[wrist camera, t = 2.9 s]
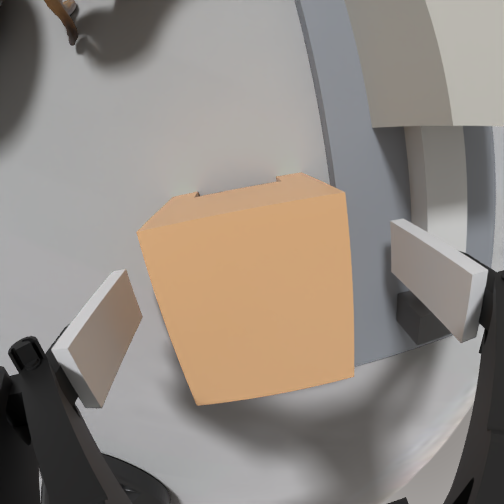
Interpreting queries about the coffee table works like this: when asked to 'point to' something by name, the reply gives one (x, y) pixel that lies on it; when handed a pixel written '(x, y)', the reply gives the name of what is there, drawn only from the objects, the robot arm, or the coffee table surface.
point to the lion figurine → (65, 16)
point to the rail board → (379, 181)
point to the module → (255, 287)
